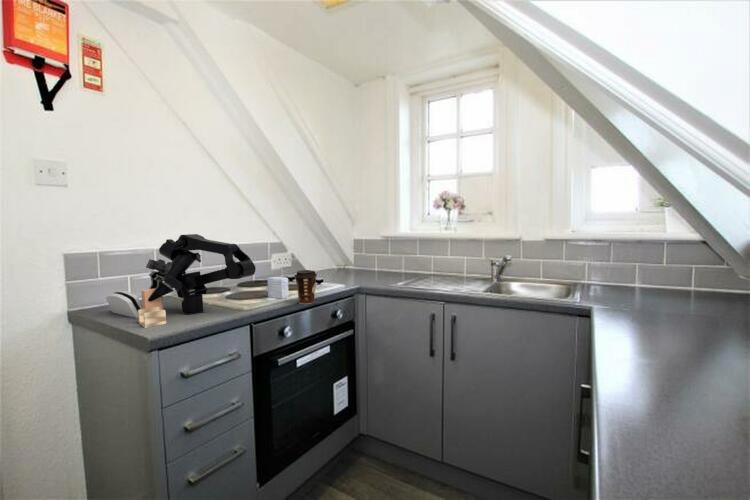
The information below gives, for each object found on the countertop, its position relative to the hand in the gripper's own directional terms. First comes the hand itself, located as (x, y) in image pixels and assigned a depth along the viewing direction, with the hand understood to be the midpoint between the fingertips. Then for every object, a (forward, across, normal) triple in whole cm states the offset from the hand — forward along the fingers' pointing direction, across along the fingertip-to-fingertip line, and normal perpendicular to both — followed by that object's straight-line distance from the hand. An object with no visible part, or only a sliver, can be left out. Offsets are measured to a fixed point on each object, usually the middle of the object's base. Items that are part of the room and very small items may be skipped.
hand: (147, 300), depth 124 cm
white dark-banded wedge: (+7, -13, +2) cm, 15 cm away
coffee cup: (-31, +22, +41) cm, 56 cm away
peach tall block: (+4, 0, +6) cm, 7 cm away
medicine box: (-29, +4, +39) cm, 49 cm away
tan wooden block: (+5, +8, +4) cm, 10 cm away
